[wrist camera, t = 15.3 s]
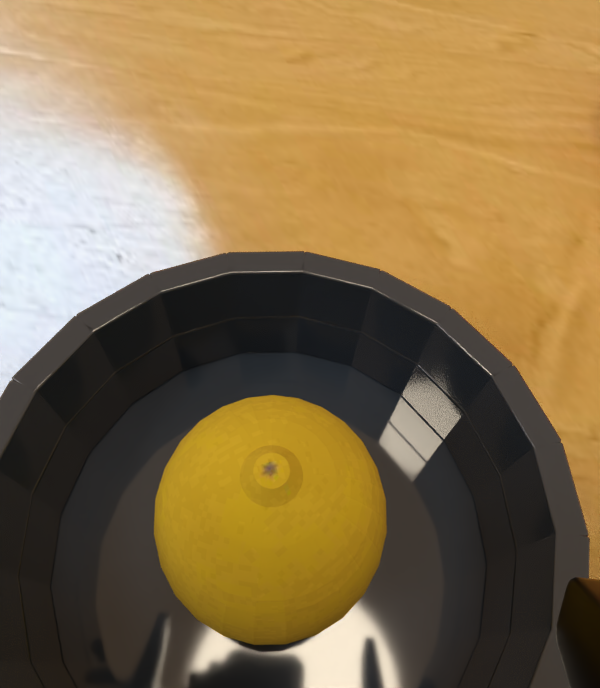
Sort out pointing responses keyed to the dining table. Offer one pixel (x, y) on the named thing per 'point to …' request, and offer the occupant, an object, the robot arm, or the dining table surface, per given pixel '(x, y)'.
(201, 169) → the dining table surface
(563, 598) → the robot arm
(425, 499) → the pot
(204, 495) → the lemon
